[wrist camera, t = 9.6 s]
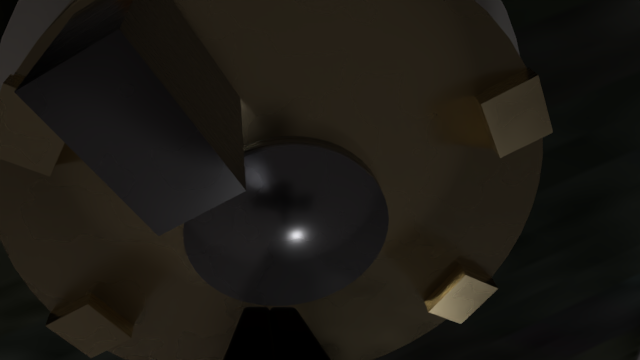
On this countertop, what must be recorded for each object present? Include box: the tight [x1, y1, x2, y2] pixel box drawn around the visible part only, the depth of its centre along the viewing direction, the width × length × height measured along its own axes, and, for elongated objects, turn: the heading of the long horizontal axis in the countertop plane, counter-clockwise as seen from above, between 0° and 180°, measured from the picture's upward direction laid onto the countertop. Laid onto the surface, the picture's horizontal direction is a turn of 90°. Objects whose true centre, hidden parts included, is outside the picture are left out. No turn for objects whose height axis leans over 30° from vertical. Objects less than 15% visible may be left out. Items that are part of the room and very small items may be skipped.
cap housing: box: [0, 0, 520, 90], centre depth 19 cm, size 18×18×2 cm
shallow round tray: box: [0, 0, 553, 360], centre depth 15 cm, size 16×16×7 cm
